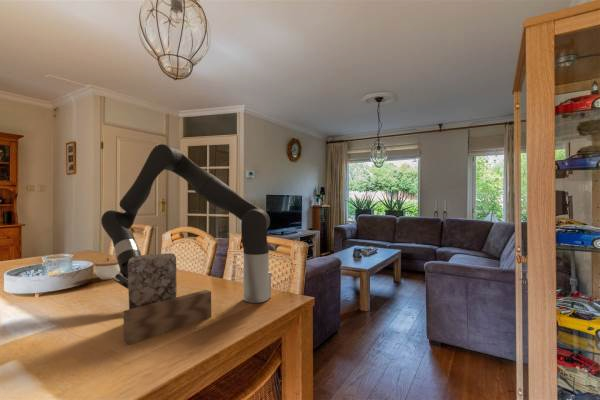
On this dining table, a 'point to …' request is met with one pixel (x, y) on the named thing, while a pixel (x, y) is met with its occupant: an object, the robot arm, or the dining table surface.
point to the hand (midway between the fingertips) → (141, 296)
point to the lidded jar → (107, 268)
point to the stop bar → (165, 316)
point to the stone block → (151, 279)
